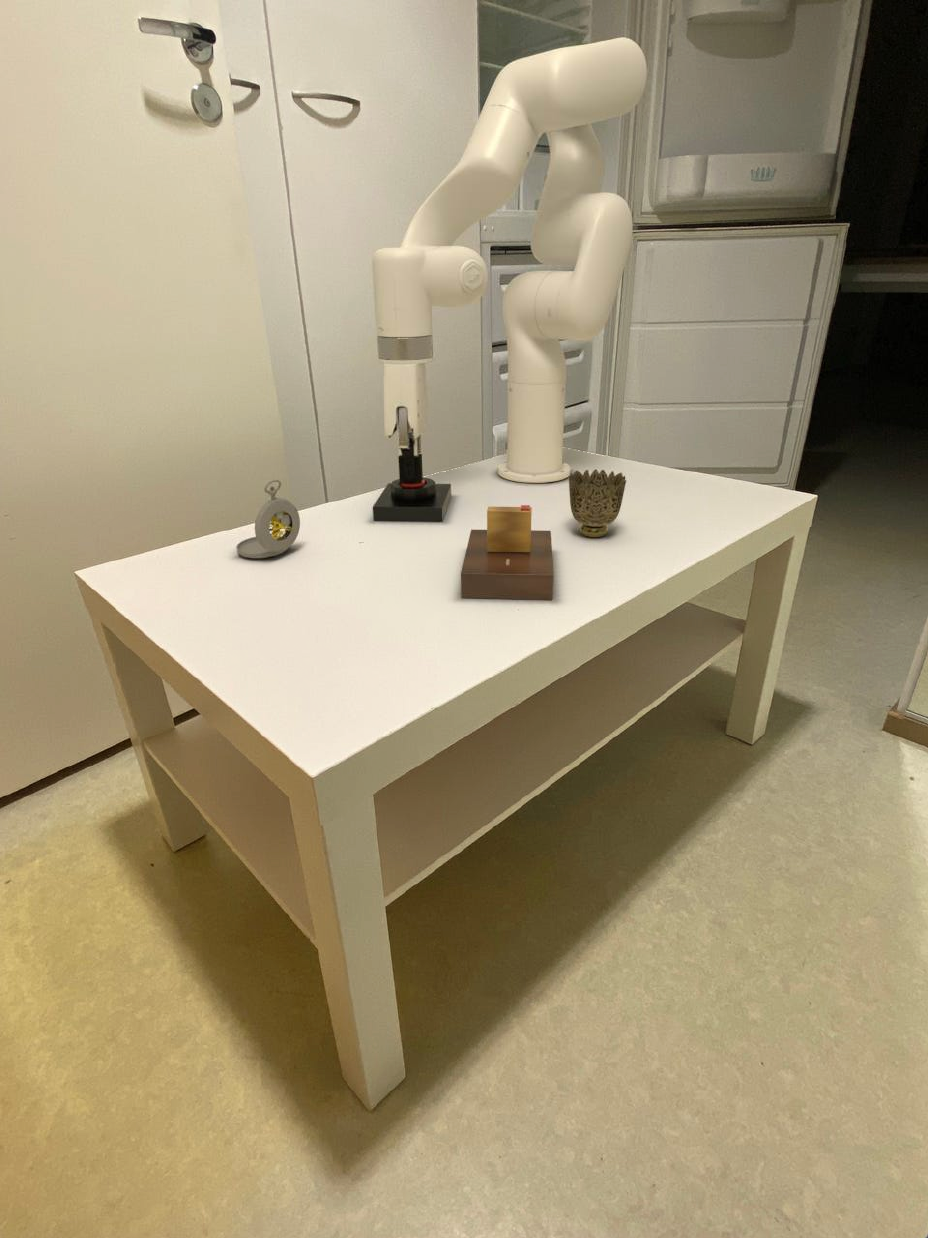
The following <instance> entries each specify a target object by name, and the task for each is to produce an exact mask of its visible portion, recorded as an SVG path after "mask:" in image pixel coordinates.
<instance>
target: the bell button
mask: <svg viewBox="0 0 928 1238" xmlns="http://www.w3.org/2000/svg"><path fill="white" fill-rule="evenodd" d="M423 485H425V481H424V480H422V481H421V483H420V484H402V483H401V486H404V487H419V486H423Z"/></svg>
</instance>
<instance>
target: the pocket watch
mask: <svg viewBox="0 0 928 1238" xmlns="http://www.w3.org/2000/svg"><path fill="white" fill-rule="evenodd" d="M273 483H278V486H277V488H275V486H270V484H273ZM269 486H270V487H269ZM268 487H269V490H267V489H268ZM281 487H282V482H281V480H280V479H273V480H271V481H269V482H268V483H266V484H265V486H264V489H263V490H264V492H265V493H266V494H268V495H269V496H270V498H271V499H269V500H268V501H266V502H265V503H264V504H263V505H262V506H261V507H260V509H259V510H258V512H257V514H256V517H255V521H254V533H255V536H253V537H249V538H246V539H244V540H241V541H240V542H239V543H237V544H236V546H235V547H236V548H235V549H236V552H237V554H239V555H240V556H242V557H244V558H247V559H249V558H250V559H266V558H271V557H275V556H279V555H282V554H283V553H285V552H286V551H288V549H289V548H290V547H291V546H292V545H293V544H294V542H295V541H296V540H297V537H298V535H299V532H300V528H301V518H300V513H299V511H298V509H297V507H296V506H295V505H294V503H292V502H291V501H290V500H288V499H286V498H282V497H281V498H280V497H276V495H277V493H278V491H279V490H280V489H281ZM283 530H284V531H283Z"/></svg>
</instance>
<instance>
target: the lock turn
mask: <svg viewBox="0 0 928 1238" xmlns="http://www.w3.org/2000/svg"><path fill="white" fill-rule="evenodd" d="M532 510H533V507H532V506H531V505H529V504H521V505H520V506H487V509H486V530H487V552H525V553H530V548H531V530H532V515H533V514H532V513H533V512H532Z"/></svg>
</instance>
